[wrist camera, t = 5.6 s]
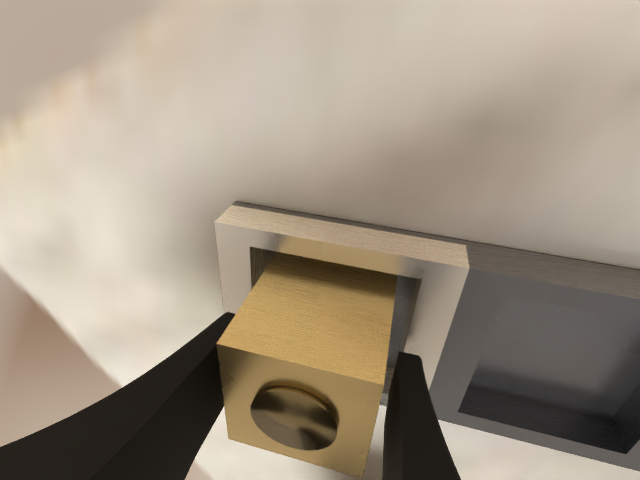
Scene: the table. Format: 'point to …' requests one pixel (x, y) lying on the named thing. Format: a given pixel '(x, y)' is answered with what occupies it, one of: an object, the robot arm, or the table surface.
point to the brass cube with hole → (309, 361)
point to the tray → (480, 325)
